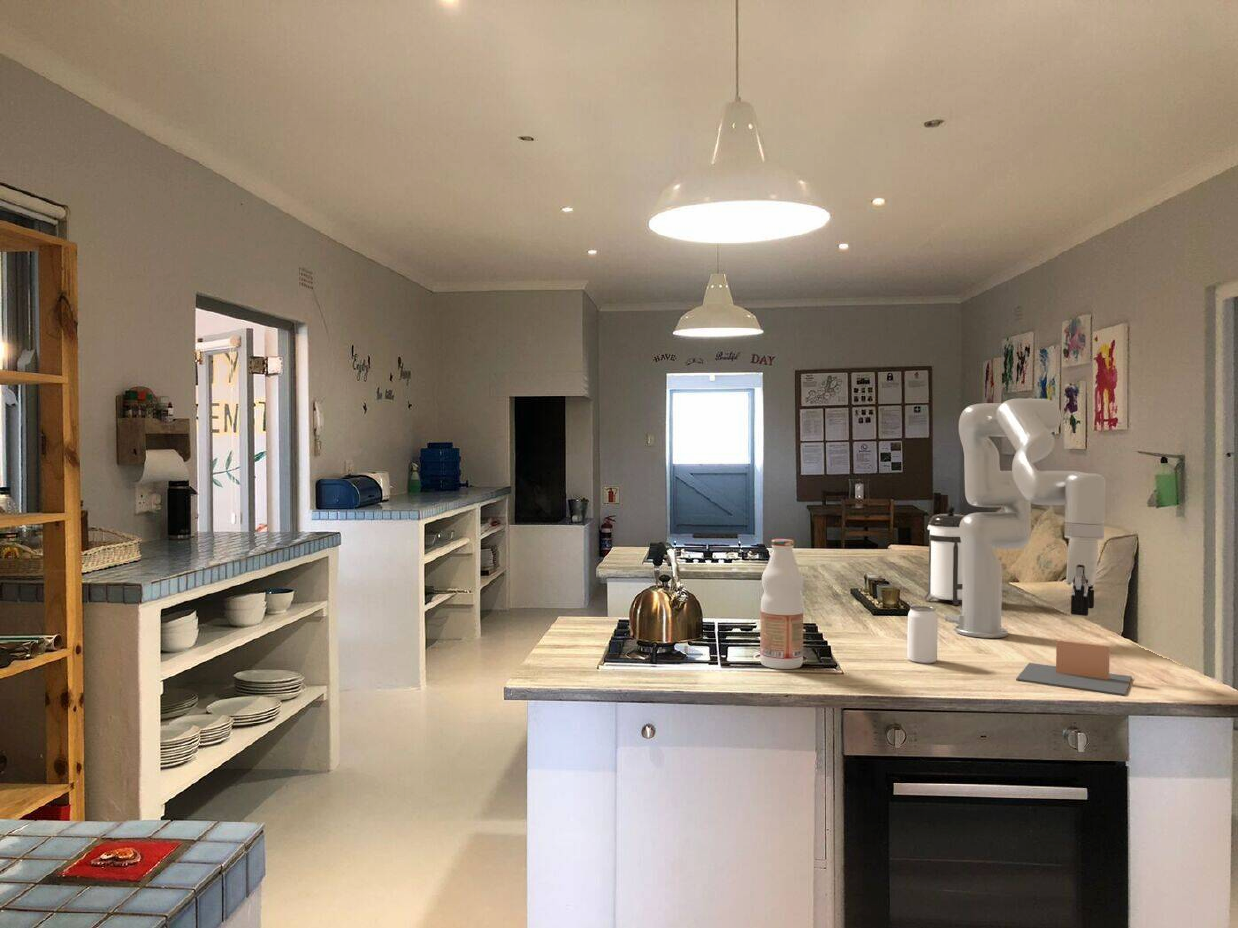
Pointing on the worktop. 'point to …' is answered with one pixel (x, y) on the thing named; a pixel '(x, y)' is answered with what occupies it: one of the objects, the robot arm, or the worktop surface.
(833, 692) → the worktop surface
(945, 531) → the coffee press
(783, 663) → the fruit juice
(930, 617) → the can
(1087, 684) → the mat
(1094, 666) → the block
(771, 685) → the worktop surface
